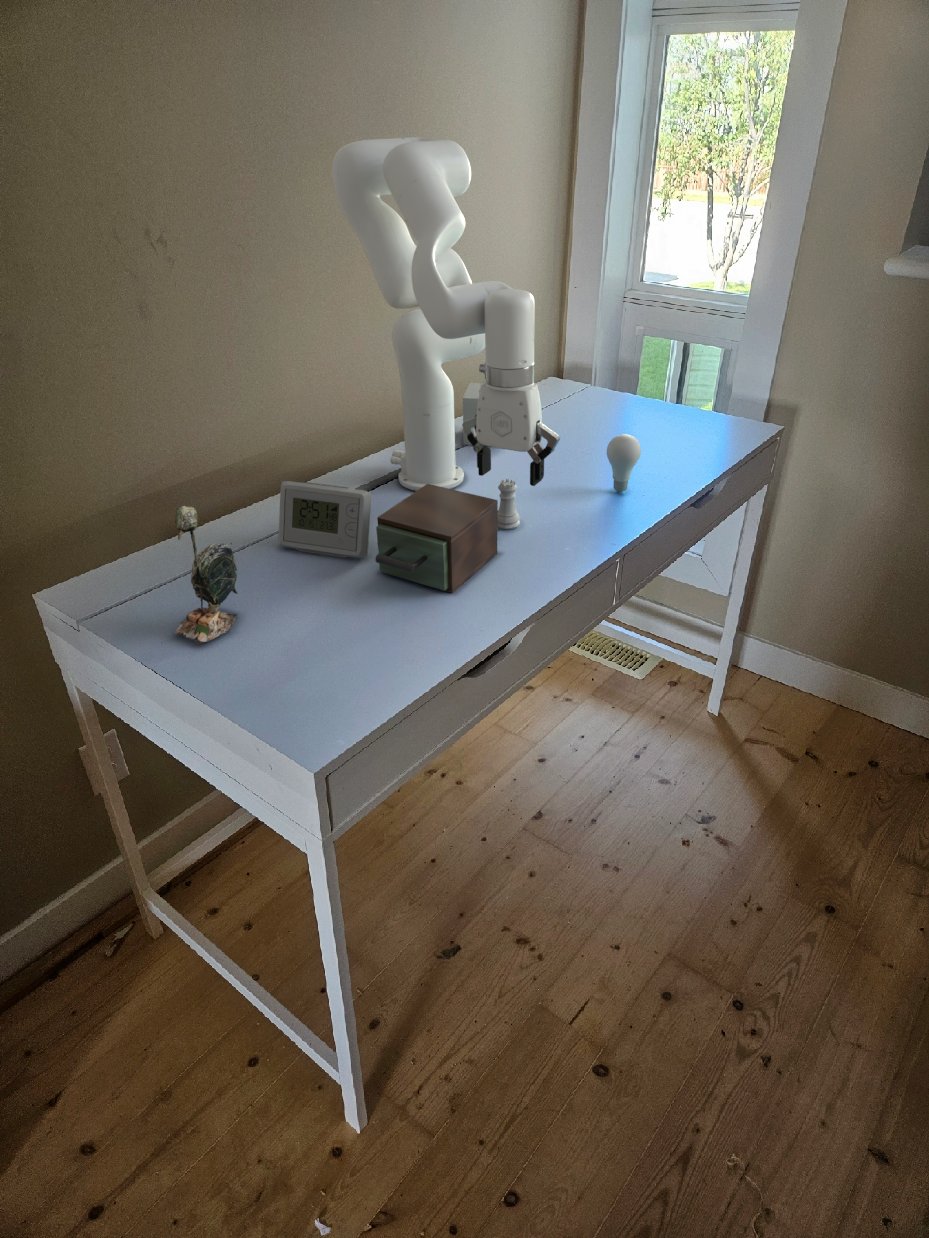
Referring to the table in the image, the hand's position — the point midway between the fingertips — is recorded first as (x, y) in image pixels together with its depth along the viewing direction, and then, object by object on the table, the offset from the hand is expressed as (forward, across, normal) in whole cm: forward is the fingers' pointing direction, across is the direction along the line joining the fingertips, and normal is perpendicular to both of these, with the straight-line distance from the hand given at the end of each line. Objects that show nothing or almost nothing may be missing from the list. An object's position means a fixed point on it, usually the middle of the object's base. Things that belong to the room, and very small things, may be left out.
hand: (510, 477), depth 138 cm
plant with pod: (+9, -23, -48) cm, 54 cm away
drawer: (+8, -4, -21) cm, 22 cm away
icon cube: (+8, -24, +35) cm, 43 cm away
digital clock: (+9, -23, -22) cm, 33 cm away
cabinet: (+9, -4, -17) cm, 19 cm away
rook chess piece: (+9, -1, 0) cm, 9 cm away
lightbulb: (+9, +11, +22) cm, 27 cm away
